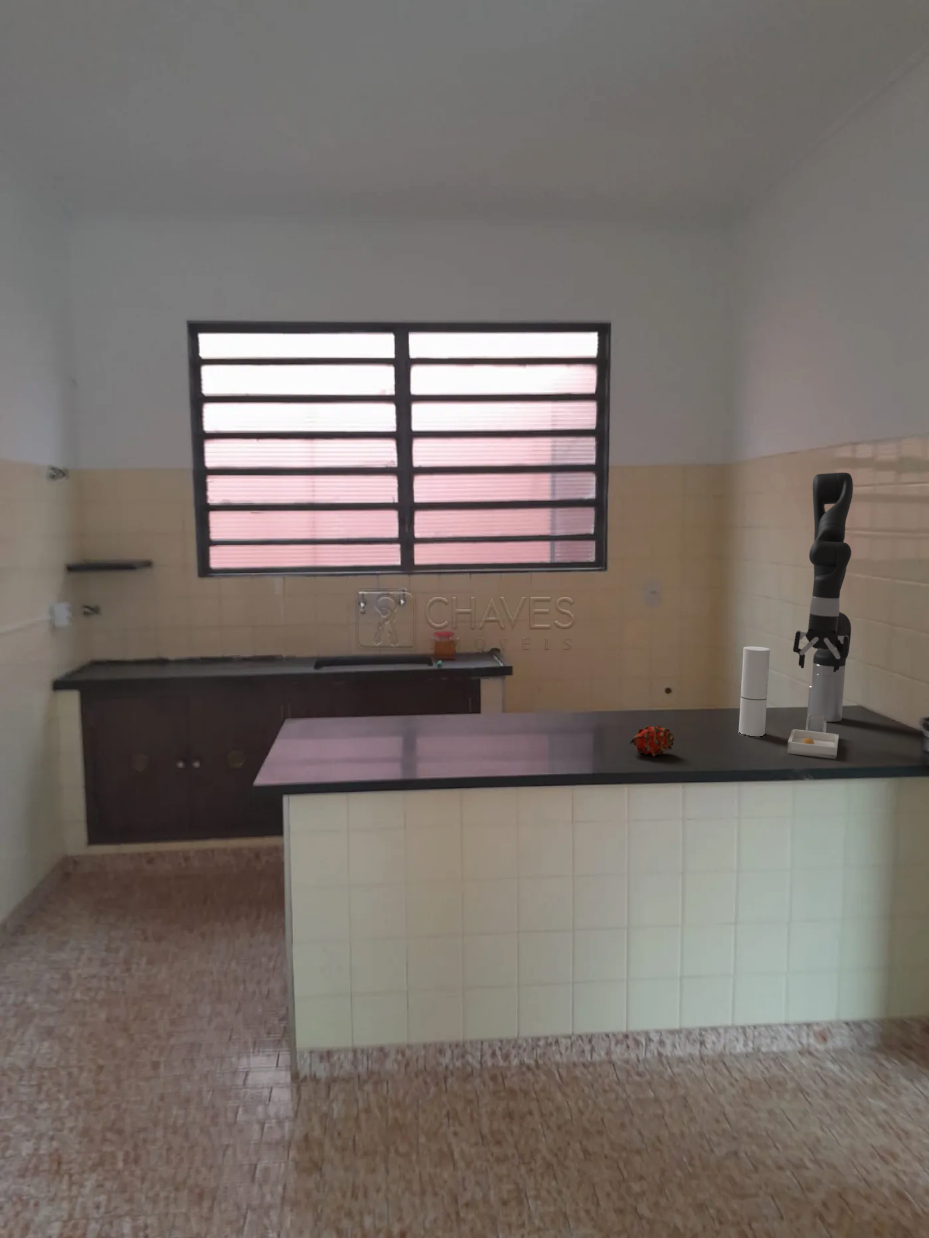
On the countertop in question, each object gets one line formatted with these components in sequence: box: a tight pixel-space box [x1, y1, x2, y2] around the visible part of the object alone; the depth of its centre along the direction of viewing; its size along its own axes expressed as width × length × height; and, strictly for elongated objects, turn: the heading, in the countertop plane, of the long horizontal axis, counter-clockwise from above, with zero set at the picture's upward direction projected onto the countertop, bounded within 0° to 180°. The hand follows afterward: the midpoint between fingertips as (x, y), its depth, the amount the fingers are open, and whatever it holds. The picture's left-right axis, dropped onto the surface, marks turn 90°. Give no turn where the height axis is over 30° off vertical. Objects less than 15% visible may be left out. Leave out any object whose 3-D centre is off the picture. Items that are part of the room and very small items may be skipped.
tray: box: [786, 728, 840, 760], centre depth 234 cm, size 15×12×3 cm
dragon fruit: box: [629, 724, 675, 757], centre depth 227 cm, size 8×8×12 cm
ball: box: [802, 738, 814, 744], centre depth 231 cm, size 3×3×3 cm
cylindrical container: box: [738, 645, 771, 737], centre depth 248 cm, size 7×7×25 cm
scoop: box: [805, 714, 828, 733], centre depth 246 cm, size 8×5×6 cm, turn 155°
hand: (818, 669), depth 244 cm, fingers open, 8 cm apart
